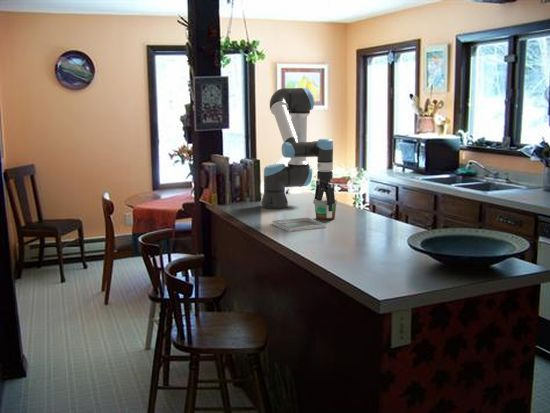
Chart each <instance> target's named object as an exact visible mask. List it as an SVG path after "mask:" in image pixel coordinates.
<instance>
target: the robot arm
mask: <svg viewBox="0 0 550 413" xmlns="http://www.w3.org/2000/svg"><path fill="white" fill-rule="evenodd" d="M314 107H315V98H314V95H313V92H312V91H311V89H309V88H306V87H305V88H304V87H295V88H294V87H292V88H291V87H283V88H280V89H278V90H276V91H275V92H273V94H272V96H271V98H270V100H269V110H270V112H271V114H272V115H274V119H275V122H276V124H277V127H278V130H279V133H280V136H281V138H282V142H283V143H282V145H281V155H282V156H283V158H289V159H290V160H289V161H288V162H287V166H286V165H285V164H284V163H273V164H269V165H266V166H265V167H264V169H263V194H262V198H261V201H260V207H261V208H264V209H269V210H270V209H273V210H274V209H275V210H276V209H285V208H288V207H289V201H288V198H287V195H286V188H294V187H295V188H296V187H300V188H302V187H307V186H309V185H310V183H311V182H312V178H313V168H312V166H311V165H310V164H309V161H308V160H307V158H315V157H316V159H317V165H316V166H317V168H316V169H317V173H316V176H317V179H318V180H315V192H314V198H315V200H323V196H324V194H325V198H326V200H327V204H326V205H327V217H326V218H332V205H333V204H335V200H336V199H335V198H336V197H335V196H336V195H335V183H332V182H331V180H332V179H333V177H334V176H333V170H334V169H333V168H334V167H333V166H334V157H333V156H334V140H333V139H330V138H319V139H318V140H315V141H307V138H308V136H307V129H308V116H309V115H310V114H311V111H312V110H314Z"/></svg>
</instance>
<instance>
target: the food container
mask: <svg viewBox="0 0 550 413" xmlns="http://www.w3.org/2000/svg"><path fill="white" fill-rule="evenodd" d="M312 203H313V205H314V211H315V212H314V213H315V220H317V221H326V222H327V221H333V220H335V219H336V211H337V204H338V200H337V198H336V199H335V204H333V205H332V218H326V217H327V205H326V204H327V199H322V200H316V199H315V197H314V198H313V201H312Z"/></svg>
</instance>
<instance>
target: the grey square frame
mask: <svg viewBox="0 0 550 413" xmlns="http://www.w3.org/2000/svg"><path fill="white" fill-rule="evenodd" d="M300 222H309V223H312V224H311V225H310V224H309V225H302V226H291V227H289V226H286V225H285V224H290V223H300ZM271 225H273V226H275V227H277V228H280V229H281V230H284V231H286V232H295V231H296V232H297V231H304V230H305V231H306V230H313V229H316V230H317V229H323V228H327V223H324V222H321V221H320V220H317V219H313V218H311V217H309V216H308V217H300V218H299V217H298V218H287V219H278V220H271Z"/></svg>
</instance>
